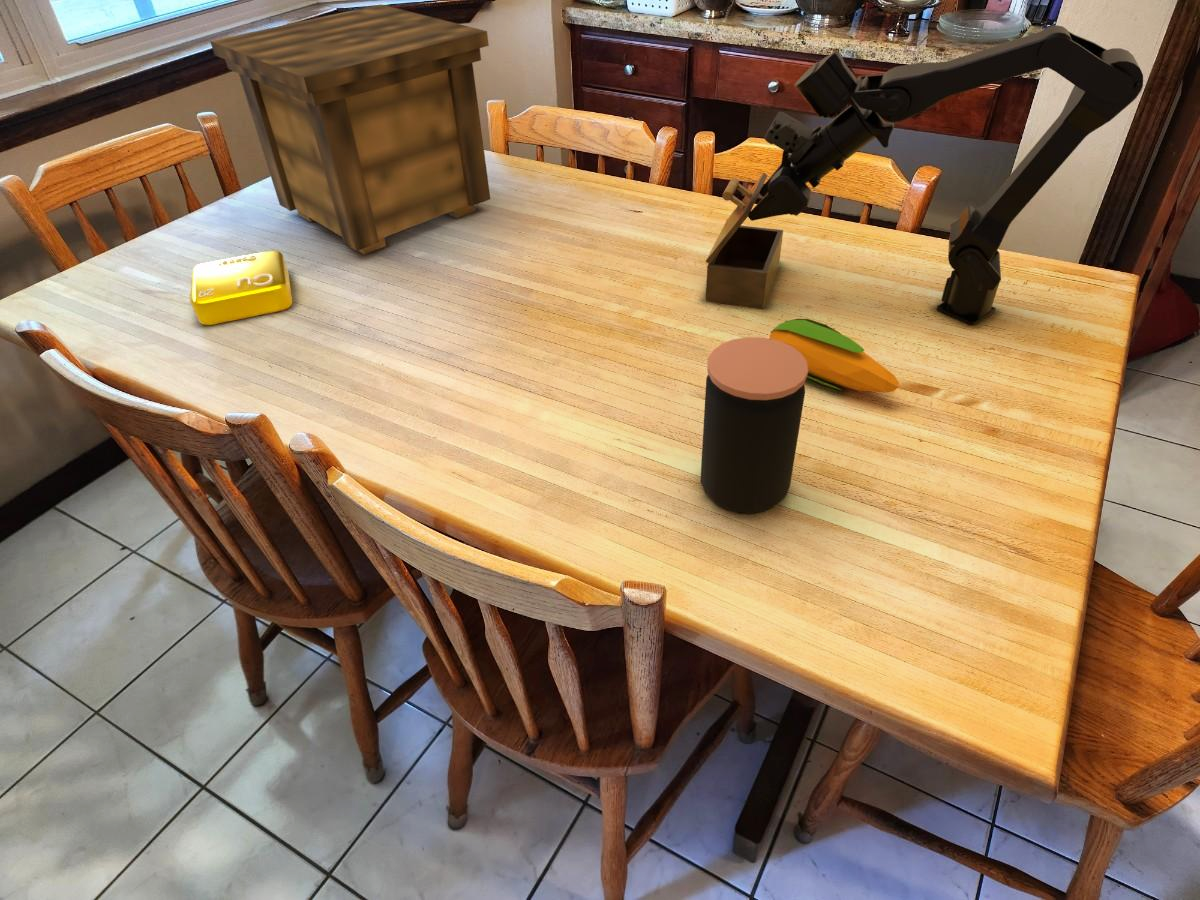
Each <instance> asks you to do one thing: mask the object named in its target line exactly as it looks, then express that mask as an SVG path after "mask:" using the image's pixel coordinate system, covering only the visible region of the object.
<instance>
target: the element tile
mask: <svg viewBox="0 0 1200 900" xmlns="http://www.w3.org/2000/svg"><path fill="white" fill-rule="evenodd" d="M289 273H290V272H289V269H288V267H287V264H286V261H285V258H284V256H283V253H282V252H281V251H279V250H269V251H262V252H258V253H251V254H247V255H241V256H237V257H231V258H226V259H225V258H224V259H219V260H215V261H210V262H204V263H200V264H197V265H195V266H194V268H192V271H191V284H190V296H189V297H190V298H189V300H190V301H189V302H190V304H191V306H192V308H193V311H194V313H195V315H196V318H197V320H198V322H199V323H200V324H201V325H204V326H213V325H218V324H223V323H227V322H232V321H237V320H238V321H239V320H243V319H248V318H252V317H257V316H262V315H263V316H264V315H267V314H272V313H277V312H281V311H285V310H287V309H289V308H290V307H291V306H292V305H293V295H292V289H291V281H290V274H289Z"/></svg>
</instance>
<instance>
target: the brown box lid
mask: <svg viewBox="0 0 1200 900" xmlns="http://www.w3.org/2000/svg"><path fill="white" fill-rule="evenodd" d="M767 178H768V174H767V173H766V172H763V173H762V174H761V176H759V178H758V179H757V181H756V182H755V183H754V185H753V186H752V187H751V188H750V189H747V188H746V187H744V186H743V185H742V184H740V180H739V179H738V178H737V177H732V178H730V180H729V182H728V184H727V185H726V188H725V189H724V191H723V192H722V199H723V200H724V201H725V202H726V201H727V202H728V201H730V202H731V203H733V204H734V205H736V207H735V209H734V210H733V211H732V213H731V214H730V215H729V217H728V218H726V221H725V223H724V225H723V227H722V228H721V230H720V232H719V234H718V236H717V238H716V240H715V242H714V244H713V246H712V248H711V250H710V251H709V254H708V255H707V258H706V259H705V262H706V264H707V265H708V264H710V263H711V262H712V261H713V259H714V258H715V257H716V256H717V254H718V253H719V252H720V251H721V249H722V248H723V247H724V246H725V244H726V243H727V242H728V241H729V239H730V238H731V237H732V236H733V234H734V233H735V232H736V231H737V229H738V228H739V227H740V226H742V225H743V223H745V221H746V220H747V218H748V216H749V214H750V212H751V210H752V209H753V208H754V205H755V203H756V201H757V199H758V197H759V195H760V191H761V188H762V187H763V186H764V184H765V183H766V180H767ZM736 191H738V192H740V193H741V194H743V195H744V197H743V198H742V200H740V199H739V198H738V197H736V195H734V194H735V192H736Z"/></svg>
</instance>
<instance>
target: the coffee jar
mask: <svg viewBox="0 0 1200 900" xmlns="http://www.w3.org/2000/svg"><path fill="white" fill-rule="evenodd" d="M706 369H707V375H706V379H705V394H704V410H703V411H704V412H703V429H702V446H701V462H700V481H699V482H700V484H701V486H702V489H703V491H704V493H705V494H706V495H707V496H708V498H710V500H711V501H712V502H713V503H714V504H715V505H717V506H719V507H720V508H722V509H724V510H726V511H728V512H732V513H736V514H741V515H743V514H744V515H754V514H761V513H764V512H766V511H768V510H771V509H772V508H775V507H776V506H777V505H778V504H779V503H781V501H783V500H784V499H785V497H786V496H787V495H788V492H789V490H790V488H791V483H792V477H793V470H794V464H795V458H796V451H797V446H798V438H799V435H800V428H801V427H800V426H801V420H802V414H803V409H804V401H805V396H806V387H805V382H806V380H807V379H808V378H807V375H809V374H808V365H807V361H806V359H805V358H804V357H803V355H802V354H801V353H800V352H799V351H797V350H796V349H795V348H793V347H792V346H790V345H788V344H785V343H783V342H780V341H778V340H773V339H769V338H767V337H758V336H756V337H755V336H753V337H752V336H748V337H747V336H746V337H740V338H734V339H731V340H728V341H725V342H723V343H721V344H719V345H717V347H715V348H714V349H712V350H711V352H710V353H709V355H708V357H707V366H706Z"/></svg>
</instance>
